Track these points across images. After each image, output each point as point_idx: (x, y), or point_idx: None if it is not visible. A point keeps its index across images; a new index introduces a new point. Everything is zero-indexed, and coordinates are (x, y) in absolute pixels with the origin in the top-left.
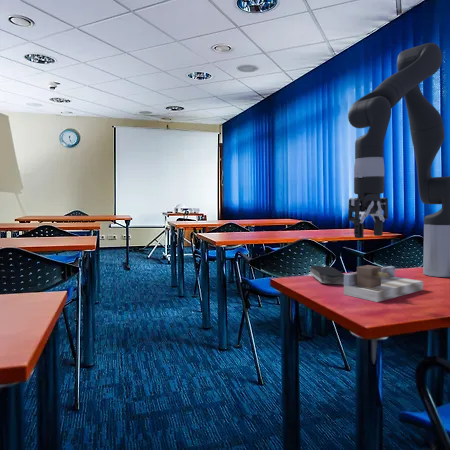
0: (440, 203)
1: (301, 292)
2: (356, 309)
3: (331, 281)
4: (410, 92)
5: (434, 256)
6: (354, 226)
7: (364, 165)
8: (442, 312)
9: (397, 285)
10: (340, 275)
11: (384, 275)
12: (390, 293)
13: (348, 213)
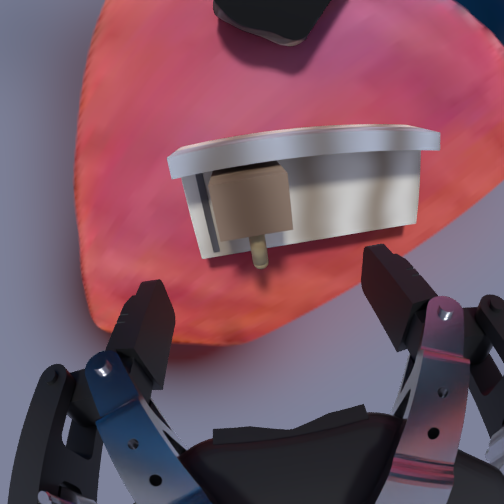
0: None
1: (92, 84)
2: (124, 266)
3: (240, 29)
4: None
5: None
6: (109, 343)
7: None
8: (259, 333)
9: (320, 227)
10: (282, 30)
11: (253, 261)
12: None
13: (27, 414)
